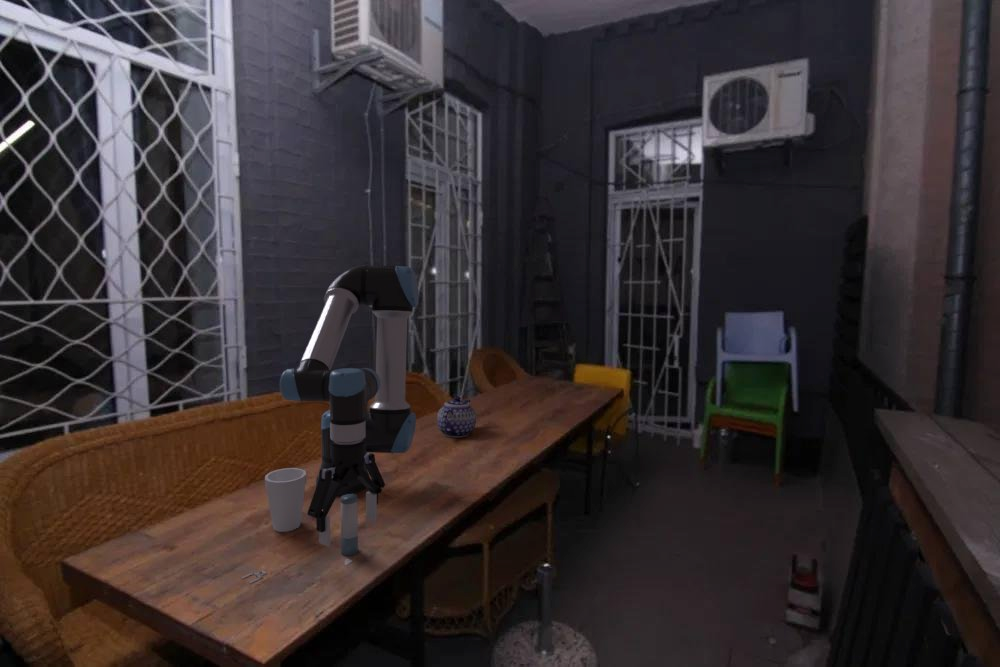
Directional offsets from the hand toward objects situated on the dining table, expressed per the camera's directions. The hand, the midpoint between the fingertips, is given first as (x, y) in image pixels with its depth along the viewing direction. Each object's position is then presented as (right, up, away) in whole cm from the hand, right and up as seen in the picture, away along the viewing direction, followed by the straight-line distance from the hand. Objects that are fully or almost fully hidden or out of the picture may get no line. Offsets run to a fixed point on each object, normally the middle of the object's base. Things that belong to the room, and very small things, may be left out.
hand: (349, 531), depth 119 cm
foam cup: (-19, -3, +12) cm, 23 cm away
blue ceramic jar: (+17, +5, +90) cm, 91 cm away
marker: (0, -5, +1) cm, 5 cm away
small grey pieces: (-12, -6, -9) cm, 16 cm away
